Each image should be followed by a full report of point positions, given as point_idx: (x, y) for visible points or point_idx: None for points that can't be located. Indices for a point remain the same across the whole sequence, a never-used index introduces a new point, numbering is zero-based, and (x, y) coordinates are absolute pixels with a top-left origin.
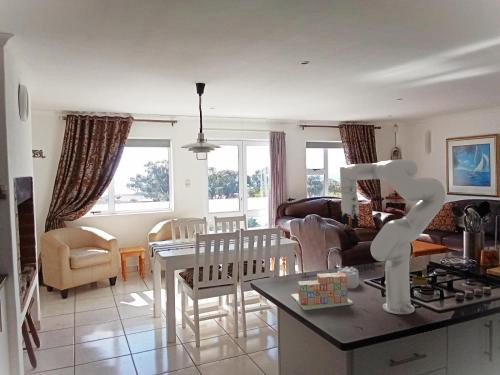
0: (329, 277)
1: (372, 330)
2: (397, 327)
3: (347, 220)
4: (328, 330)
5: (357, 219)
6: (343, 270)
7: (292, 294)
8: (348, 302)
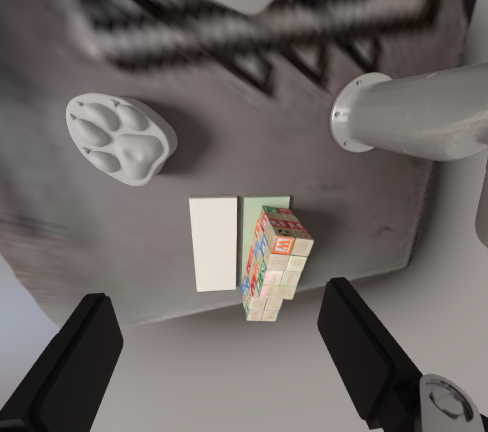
0: (298, 278)
1: (403, 217)
2: (421, 173)
3: (90, 350)
4: (365, 272)
5: (399, 355)
6: (137, 168)
7: (199, 289)
8: (288, 207)
